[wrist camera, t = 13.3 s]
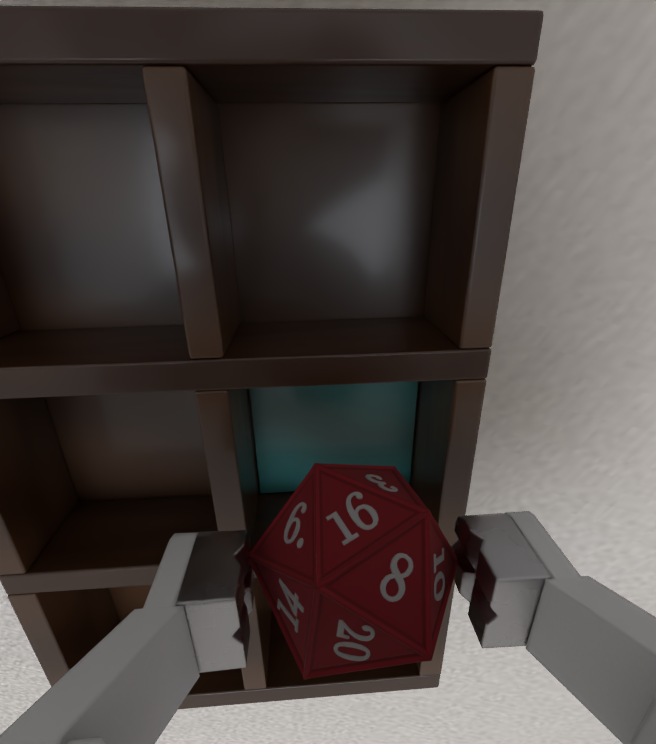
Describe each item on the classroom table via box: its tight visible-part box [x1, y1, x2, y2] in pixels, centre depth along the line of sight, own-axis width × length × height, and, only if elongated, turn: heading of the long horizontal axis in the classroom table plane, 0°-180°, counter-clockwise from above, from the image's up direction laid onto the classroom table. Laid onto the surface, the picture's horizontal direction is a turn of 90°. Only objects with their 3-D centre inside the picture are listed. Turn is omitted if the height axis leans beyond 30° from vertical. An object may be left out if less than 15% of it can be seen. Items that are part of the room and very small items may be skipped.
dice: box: [249, 463, 458, 680], centre depth 8 cm, size 4×4×4 cm
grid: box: [0, 6, 543, 709], centre depth 12 cm, size 20×13×4 cm
